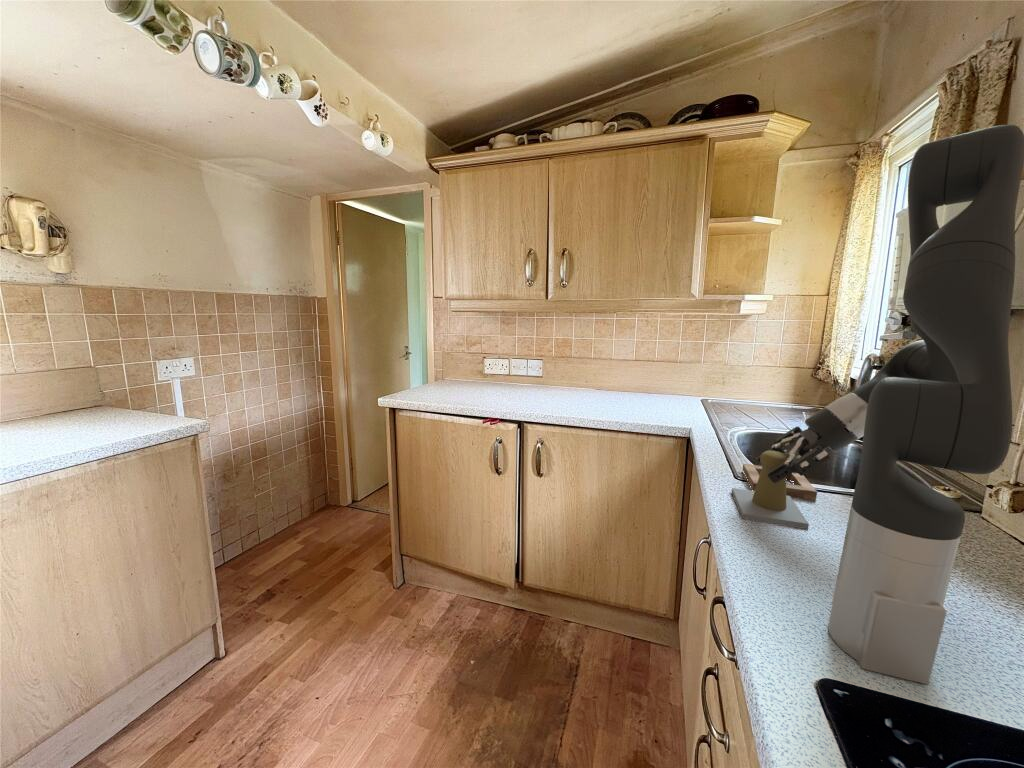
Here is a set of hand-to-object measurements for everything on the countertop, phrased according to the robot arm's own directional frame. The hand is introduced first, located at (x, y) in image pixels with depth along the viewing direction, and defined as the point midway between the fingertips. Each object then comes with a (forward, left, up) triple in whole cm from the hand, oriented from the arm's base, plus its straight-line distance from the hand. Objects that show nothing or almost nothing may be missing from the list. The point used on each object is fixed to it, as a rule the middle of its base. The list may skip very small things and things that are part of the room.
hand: (764, 470), depth 83 cm
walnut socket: (+14, -6, -8) cm, 17 cm away
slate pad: (0, -1, -8) cm, 8 cm away
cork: (+1, -2, -7) cm, 8 cm away
